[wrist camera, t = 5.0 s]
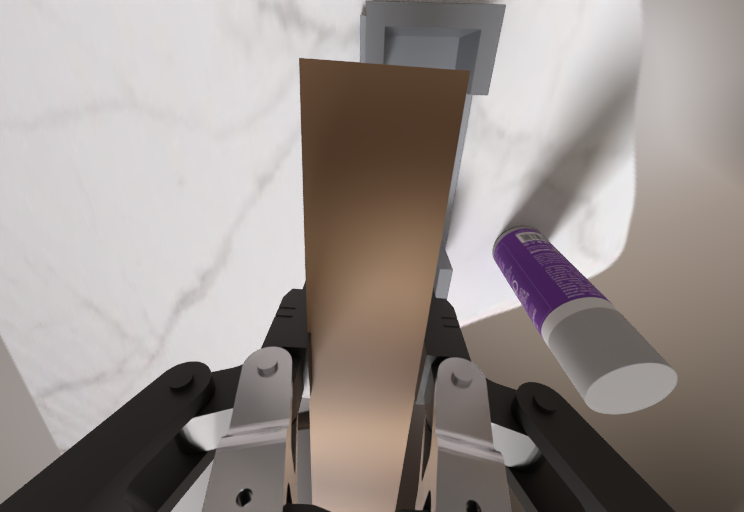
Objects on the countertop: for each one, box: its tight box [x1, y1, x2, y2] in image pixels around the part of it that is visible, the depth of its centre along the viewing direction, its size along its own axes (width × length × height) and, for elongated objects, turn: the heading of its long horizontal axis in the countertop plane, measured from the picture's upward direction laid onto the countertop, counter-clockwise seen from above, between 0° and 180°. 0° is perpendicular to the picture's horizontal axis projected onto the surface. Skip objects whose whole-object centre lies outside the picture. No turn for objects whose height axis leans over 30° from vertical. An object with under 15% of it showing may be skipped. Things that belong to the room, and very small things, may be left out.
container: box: [493, 226, 678, 414], centre depth 22 cm, size 5×5×15 cm
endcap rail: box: [360, 1, 506, 300], centre depth 23 cm, size 20×8×6 cm, turn 179°
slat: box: [299, 58, 470, 512], centre depth 11 cm, size 16×3×4 cm, turn 176°
